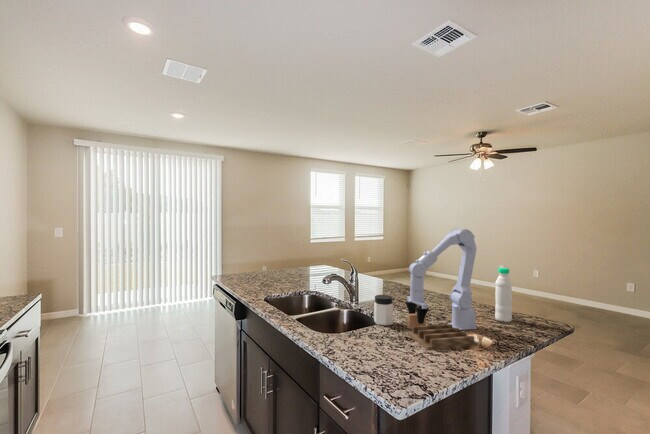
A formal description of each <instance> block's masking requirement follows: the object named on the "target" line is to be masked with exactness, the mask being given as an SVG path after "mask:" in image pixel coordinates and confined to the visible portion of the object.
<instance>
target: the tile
mask: <svg viewBox="0 0 650 434" xmlns="http://www.w3.org/2000/svg"><path fill="white" fill-rule="evenodd" d="M406 325H407V326H406V328H407V329H409V330H412V327H413V326H427V315H426V316H425V319H424V322H423V324H419V323H418V318H417V312H416V313H415V314H409V313H407V314H406Z"/></svg>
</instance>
